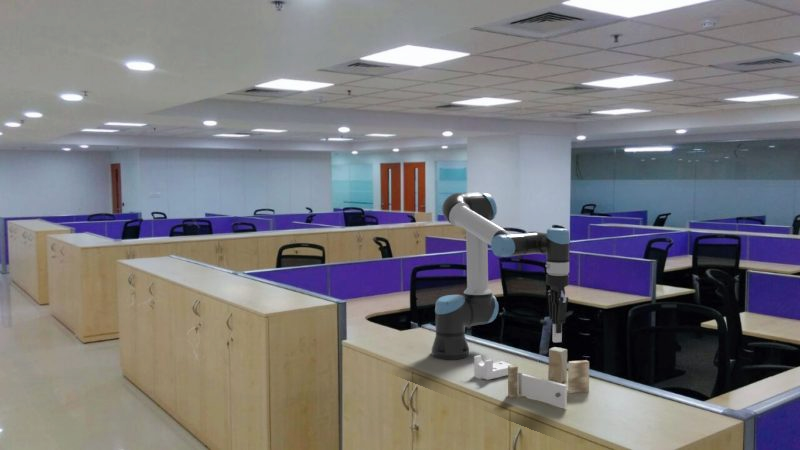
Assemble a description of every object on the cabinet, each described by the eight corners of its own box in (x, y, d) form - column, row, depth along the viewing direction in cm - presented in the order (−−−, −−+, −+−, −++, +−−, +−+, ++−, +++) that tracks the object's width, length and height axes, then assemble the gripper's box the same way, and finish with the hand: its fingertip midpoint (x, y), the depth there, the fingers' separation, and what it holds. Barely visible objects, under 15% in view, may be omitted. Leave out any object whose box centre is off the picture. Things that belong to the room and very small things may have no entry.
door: (515, 395, 196) (515, 373, 195) (519, 393, 197) (519, 371, 197) (562, 408, 183) (562, 385, 183) (566, 406, 185) (567, 384, 184)
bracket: (487, 382, 210) (487, 361, 210) (474, 377, 216) (474, 356, 216) (515, 375, 217) (515, 355, 217) (502, 370, 223) (501, 350, 223)
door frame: (510, 398, 194) (510, 367, 194) (507, 395, 197) (507, 364, 196) (589, 392, 198) (589, 362, 198) (585, 389, 201) (585, 359, 200)
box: (547, 380, 211) (547, 348, 210) (553, 377, 214) (554, 346, 213) (561, 383, 207) (561, 351, 207) (567, 380, 211) (567, 348, 210)
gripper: (540, 271, 213) (539, 337, 215) (554, 277, 200) (554, 347, 202) (560, 270, 214) (559, 336, 216) (576, 276, 201) (575, 346, 203)
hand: (557, 341), depth 209 cm, fingers closed
